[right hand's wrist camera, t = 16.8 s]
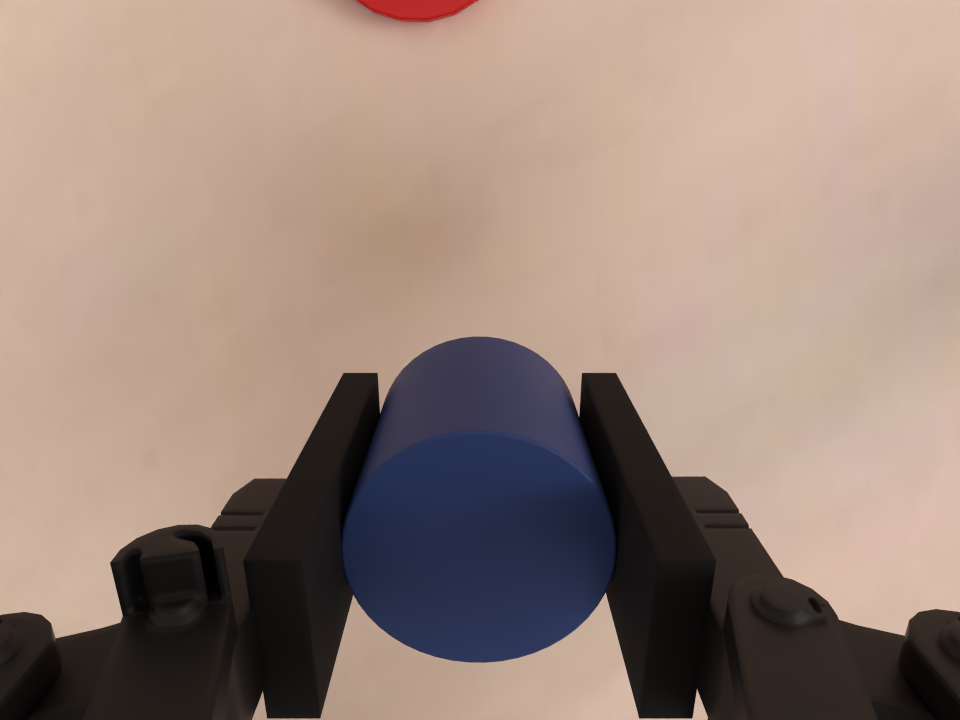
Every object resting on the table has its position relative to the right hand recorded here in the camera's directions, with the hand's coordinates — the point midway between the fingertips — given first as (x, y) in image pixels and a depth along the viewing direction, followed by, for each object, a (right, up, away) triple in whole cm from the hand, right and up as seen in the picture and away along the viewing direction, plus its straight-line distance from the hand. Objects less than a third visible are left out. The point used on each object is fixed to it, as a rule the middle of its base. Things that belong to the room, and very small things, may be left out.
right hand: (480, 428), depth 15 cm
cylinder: (0, 0, 0) cm, 0 cm away
